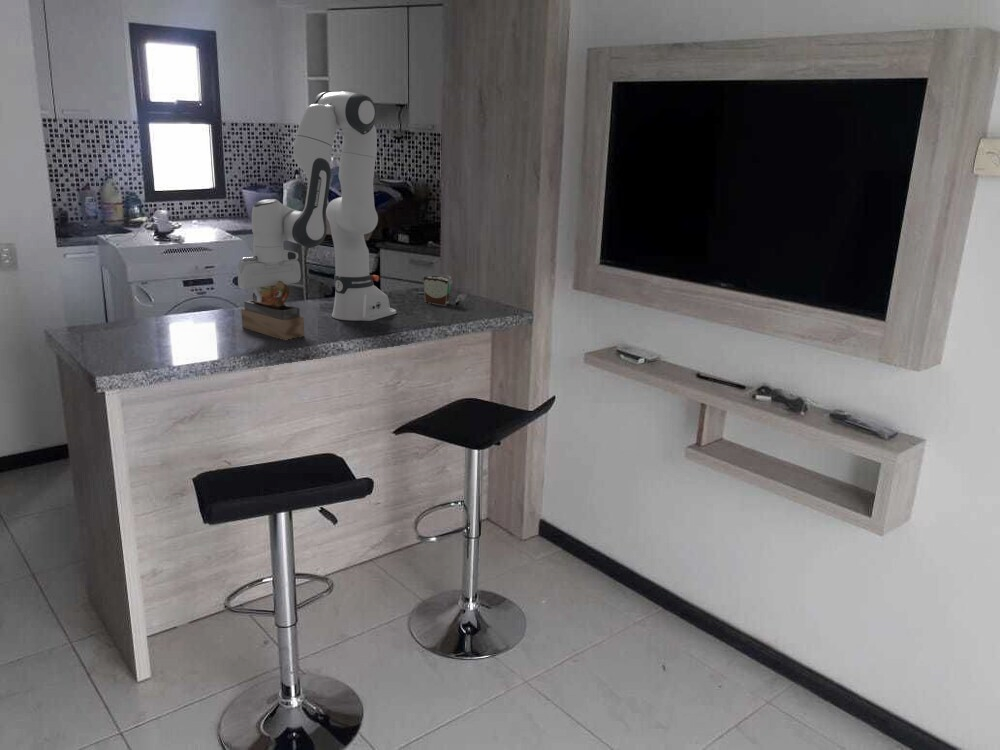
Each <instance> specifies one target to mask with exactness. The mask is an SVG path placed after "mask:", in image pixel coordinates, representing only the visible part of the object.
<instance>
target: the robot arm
mask: <svg viewBox="0 0 1000 750" xmlns="http://www.w3.org/2000/svg"><path fill="white" fill-rule="evenodd" d="M376 116H377V112H376V106H375V103H374V100H373V99H372V98H371V97H369V96H368V95H366V94H363V93H359V92H352V91H345V90H344V91H342V90H341V91H329V90H328V91H324V92H321V93H319V94H317V95H316V96H315V98H314V99H313V101H312V104H310V105H308V106H307V107H306V108H305V110H304V113H303V114H302V117H301V119H300V121H299V122H300V123H299V124H298V128H297V131H296V135H295V139H294V144H293V150H292V151H293V154H292V156H293V160H294V161H295V163H296V165H297V166H298V167H299V168H300V169H301V171H303V172H304V173H305V176H306V177H307V190H306V195H305V203H304V208H303V210H302V211H301V210H298V209H294V208H292V207H289V206H286V205H284V203H282V202H280V201H279V200H278V199H276V198H268V199H267V198H265V199H260V200H258V201H257V202H255V203H253V206H252V210H251V231H252V234H253V241H252V252H253V256H249V257H242V258H241V259H240V260H239V262H238V263H237V268H238V274H237V286H238V287H239V288H240V289H241V290H247V291H248V290H252V292H253V293H255V295H256V296H257V302H264V301H265V300H264V296H262V295H261V294H260V292H259V291H261V287H268V286H275V285H277V284H278V283H279V281H282V282H283V283H284V284H286V285H287V286H288V285H290V284H296V283H299V282H300V280H301V278H302V277H301V275H302V274H301V273H302V272H301V265H300V262H299V260H298V259H299V253H298V252H296V251H293V250H289V249H287V248H284V242H286V241H288V242H291V243H294V244H298V245H301V246H303V247H304V248H307V249H309V248H310V249H311V248H316V247H318V246H319V245H321V244H322V243H323V241H324V240H325V238H326V236H327V232H328V229H327V228H328V226H327V220H328V224H329V228H330V233H331V238H332V243H333V248H334V263H335V264H334V265H335V274H334V276H333V277H334V281H333V283H334V290H335V293H334V294H335V295H334V302H333V309H332V313H331V317H332V318H333V319H336V320H341V321H368V322H371V321H372V322H373V321H376V320H379V319H382V318H386V317H389V316H393V315H396V314H397V310H396V309H394V308H392V307H390V299H389V296H388V295H387V294H386V293H384V292H383V291H382V290H380V289H379V288H378V287H377V286H376V285H374V281H375V282H379V280H380V277H379V275H376V274H372V275H371V274H370V251H369V248H368V246H367V243H366V240H365V235H366V234H367V235H368V234H369V233H371V232H373V231H374V230H375V229H376V227H377V226H378V222H379V216H378V212H377V211H376V207H375V194H374V178H375V177H374V176H375V167H376V159H377V150H378V149H377V148H378V147H377V145H378V143H377V142H378V140H377V139H378V137H377V128H376V126H375V122H376V121H375V120H376V118H377V117H376ZM338 129H339V130H341V131H342V134H343V138H342V144H341V150H340V161H339V166H338V167H339V169H338V179H339V183H340V191H341V192H340V193H341V197H340V196H339V197H337V198H334V199H332V200H331V201H330V202H329V203H328V199H329V193H330V186H331V185H330V184H331V171H332V170H331V155H332V151H333V146H334V141H335V136H336V135H335V134H336V133H337V131H338Z"/></svg>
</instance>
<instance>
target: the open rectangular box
mask: <svg viewBox="0 0 1000 750" xmlns="http://www.w3.org/2000/svg"><path fill="white" fill-rule="evenodd" d="M243 304H244V307H243V308H242V307H241V308H240V309H241V326H242V327H243V329H246V330H249V329H250V330H249V331H253V332H256V333H259V334H263V335H265V336H269V337H273V338H275V337H276V339H278V338H280V339H279V340H282V339H283V340H282V341H289V340H288V339H290V340H293V339H292V338H295V339H298V338H297V337H299V338H303V337H302V336H304V337H305V324H304V323H305V322H304V321H305V320H304V317H303V316H301V315H300V313H301V312H300V308H299V307H295V306H292V305H288V304H285V303H284V304H283V305H282V306H280V307H279V308H276V309H275V308H271V307H267V306H264V305H260V304H257V303H255V302H254V301H253V299H252V300H245V301H243ZM242 327H241V328H242Z"/></svg>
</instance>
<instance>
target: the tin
mask: <svg viewBox="0 0 1000 750" xmlns="http://www.w3.org/2000/svg"><path fill="white" fill-rule="evenodd" d="M259 292H260V294H261V295H262V296H264V300H265V301H264V302H257V296H256V295H255V293H254V292H253V293H252V300H253V301H254V302H255V303H257V304H260V305H264V306H267V307H271V308H275V309H276V308H279V307H280V306H282V305H283V304H285V302H286V300H287V299H288V296H289V295H290V287H289V285H288V284H287V285H286V284H284V283H283V282H282V281H279V283H278V284H277V285H275V286H268V287H261V291H259Z"/></svg>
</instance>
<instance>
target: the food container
mask: <svg viewBox="0 0 1000 750" xmlns="http://www.w3.org/2000/svg"><path fill="white" fill-rule="evenodd" d="M421 278H422V279H421V281H422V282H423V293H424V302H428V303H427V304H431V303H432V304H433V305H436V306H444V307H447V306H449V301H450V293H451V285H452V284H453V279H452V277H451V276H450V275H447V274H446V275H445V274H424V275H422V277H421Z"/></svg>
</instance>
